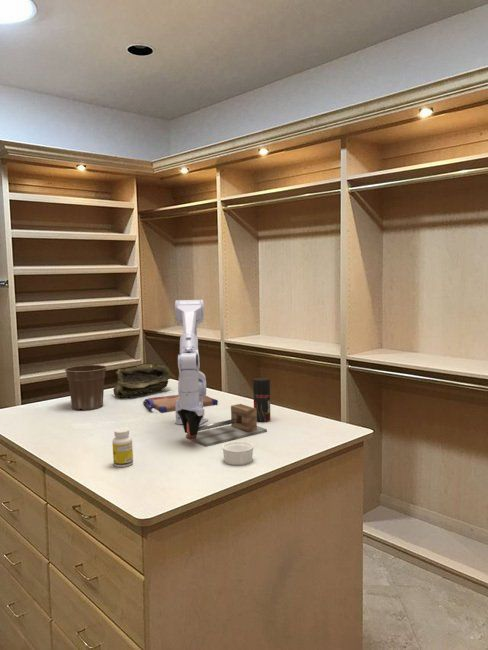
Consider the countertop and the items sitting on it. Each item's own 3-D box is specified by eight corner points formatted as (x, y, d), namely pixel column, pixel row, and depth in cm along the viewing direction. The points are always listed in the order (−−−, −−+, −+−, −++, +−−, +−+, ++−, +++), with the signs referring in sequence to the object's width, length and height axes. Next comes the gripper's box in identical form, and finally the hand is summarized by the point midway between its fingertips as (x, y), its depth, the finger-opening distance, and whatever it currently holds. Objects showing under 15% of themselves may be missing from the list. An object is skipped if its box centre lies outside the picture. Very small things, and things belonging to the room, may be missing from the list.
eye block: (205, 446, 165) (204, 421, 164) (185, 437, 174) (185, 413, 173) (266, 431, 179) (266, 408, 178) (245, 424, 188) (244, 401, 188)
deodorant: (269, 422, 189) (268, 380, 188) (252, 422, 191) (251, 380, 189) (271, 418, 195) (271, 377, 194) (255, 417, 196) (254, 377, 195)
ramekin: (260, 462, 151) (259, 446, 150) (233, 468, 146) (232, 453, 145) (242, 453, 158) (242, 439, 158) (216, 459, 153) (216, 444, 153)
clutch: (219, 406, 217) (199, 396, 234) (219, 394, 217) (199, 386, 234) (152, 416, 204) (137, 405, 221) (152, 403, 204) (136, 393, 221)
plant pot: (95, 400, 229) (93, 362, 228) (116, 406, 218) (114, 367, 217) (59, 407, 218) (57, 368, 216) (79, 414, 207) (77, 372, 205)
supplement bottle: (115, 461, 153) (113, 427, 152) (134, 460, 154) (132, 426, 153) (112, 468, 148) (110, 433, 147) (132, 467, 148) (130, 432, 147)
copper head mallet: (190, 439, 166) (189, 423, 166) (185, 437, 169) (184, 421, 168) (237, 429, 177) (237, 413, 177) (232, 427, 179) (231, 411, 179)
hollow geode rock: (169, 398, 250) (159, 372, 258) (179, 382, 242) (168, 356, 250) (112, 406, 233) (103, 378, 241) (121, 390, 225) (111, 361, 233)
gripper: (212, 393, 163) (213, 436, 164) (190, 385, 175) (191, 426, 176) (192, 396, 159) (193, 441, 161) (170, 388, 171) (171, 429, 173)
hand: (191, 433), depth 168 cm, fingers closed on copper head mallet, 3 cm apart
